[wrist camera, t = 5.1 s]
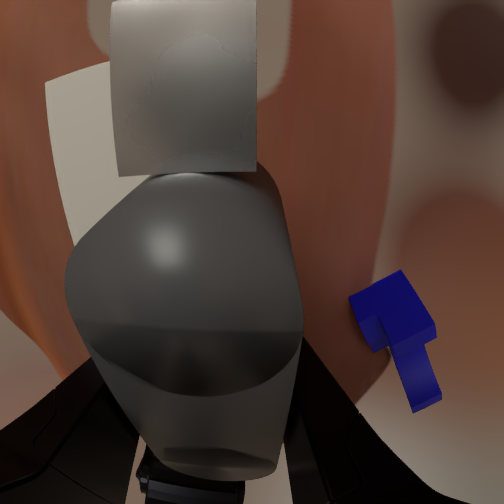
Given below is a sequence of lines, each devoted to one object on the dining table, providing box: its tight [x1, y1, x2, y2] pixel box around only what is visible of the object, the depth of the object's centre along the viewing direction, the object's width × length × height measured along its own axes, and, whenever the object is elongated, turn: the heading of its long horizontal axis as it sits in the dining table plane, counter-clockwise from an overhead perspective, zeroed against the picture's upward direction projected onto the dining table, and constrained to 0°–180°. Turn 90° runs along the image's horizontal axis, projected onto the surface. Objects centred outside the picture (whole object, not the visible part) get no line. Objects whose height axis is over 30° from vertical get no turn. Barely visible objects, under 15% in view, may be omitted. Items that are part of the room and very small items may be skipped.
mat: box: [45, 61, 150, 246], centre depth 17 cm, size 16×10×1 cm, turn 1°
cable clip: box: [349, 269, 442, 413], centre depth 21 cm, size 12×4×6 cm, turn 31°
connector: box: [65, 0, 304, 481], centre depth 6 cm, size 4×12×4 cm, turn 0°
